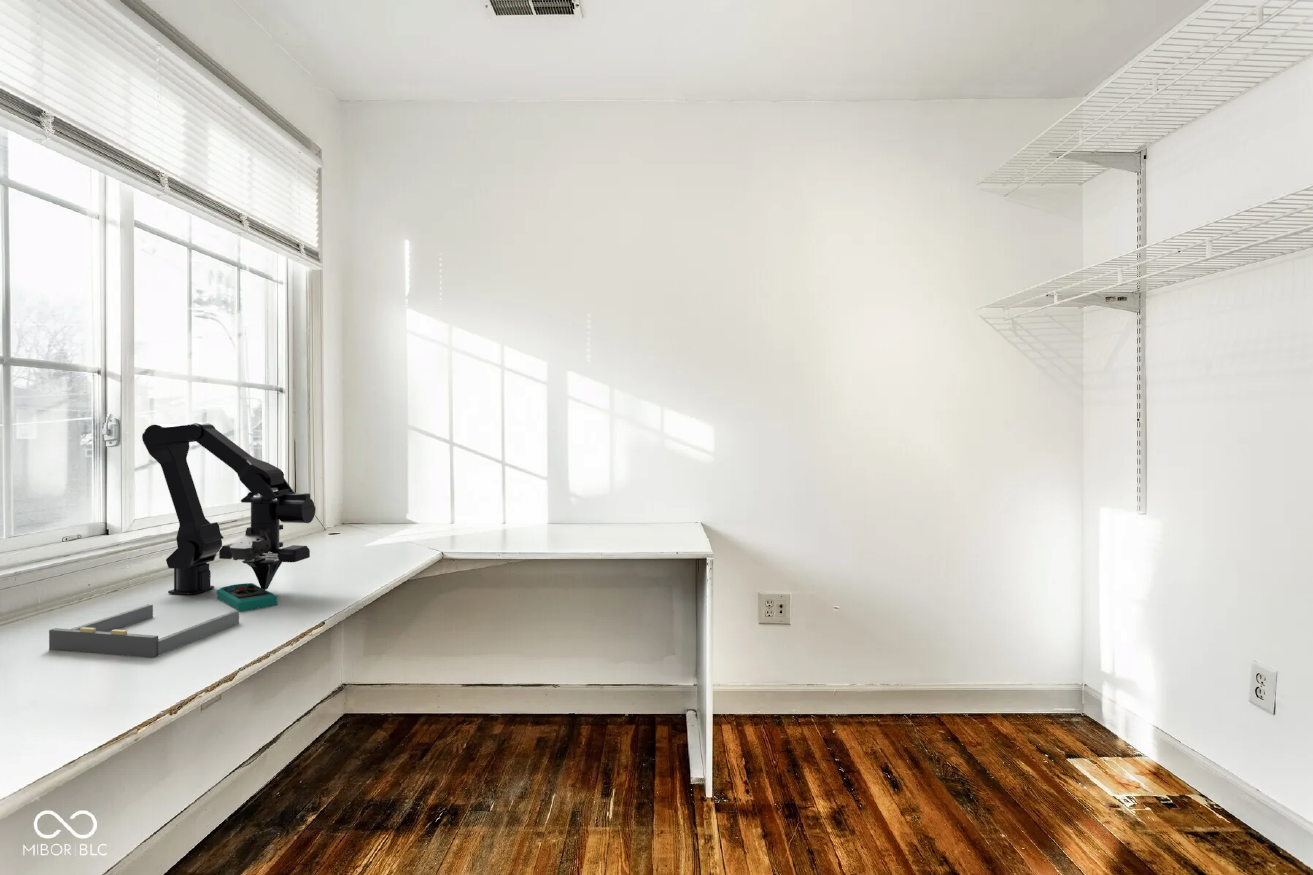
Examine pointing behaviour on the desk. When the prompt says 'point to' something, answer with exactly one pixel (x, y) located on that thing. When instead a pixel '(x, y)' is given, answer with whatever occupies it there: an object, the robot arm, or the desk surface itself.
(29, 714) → the desk surface
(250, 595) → the digital multimeter
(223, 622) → the frame
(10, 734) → the desk surface
